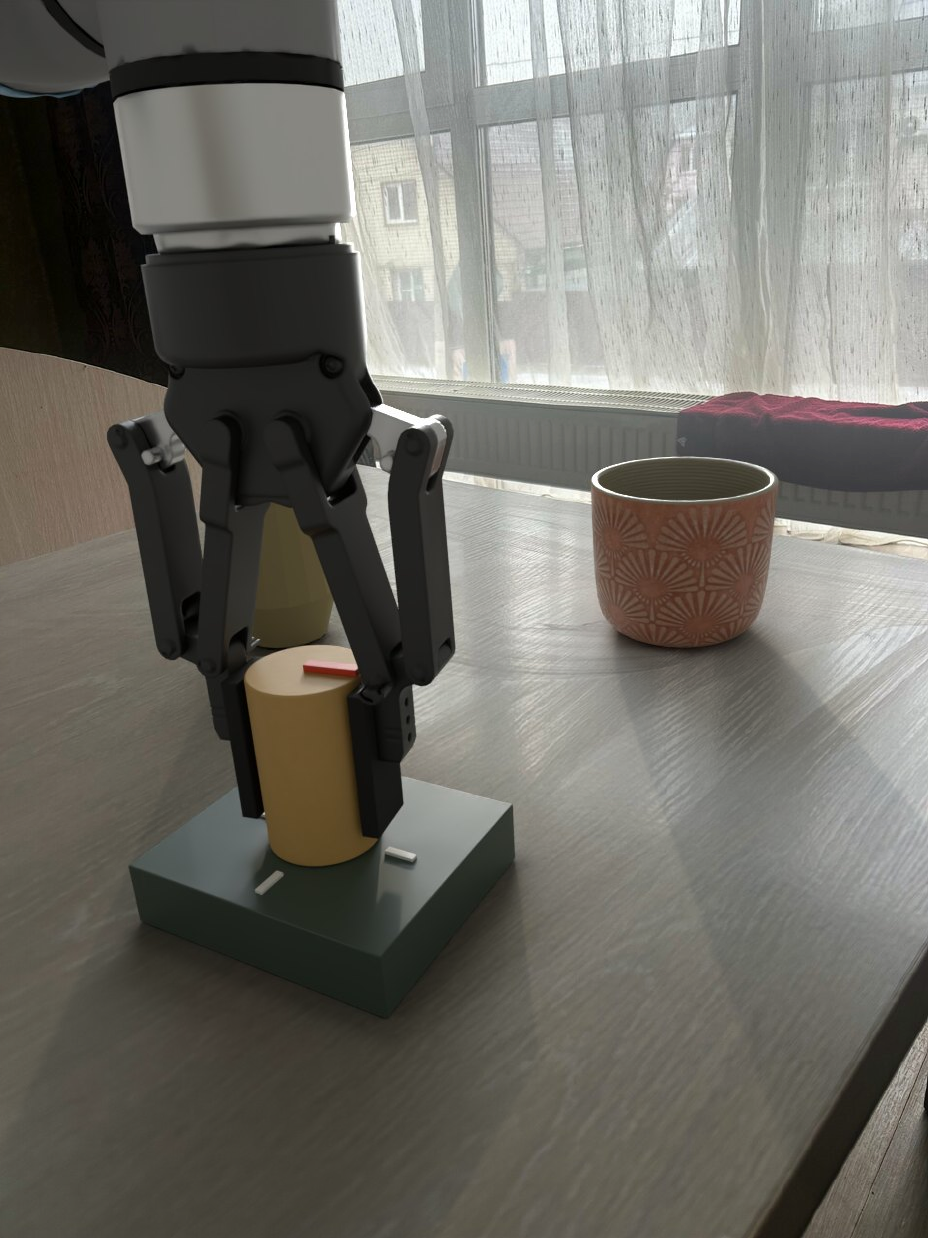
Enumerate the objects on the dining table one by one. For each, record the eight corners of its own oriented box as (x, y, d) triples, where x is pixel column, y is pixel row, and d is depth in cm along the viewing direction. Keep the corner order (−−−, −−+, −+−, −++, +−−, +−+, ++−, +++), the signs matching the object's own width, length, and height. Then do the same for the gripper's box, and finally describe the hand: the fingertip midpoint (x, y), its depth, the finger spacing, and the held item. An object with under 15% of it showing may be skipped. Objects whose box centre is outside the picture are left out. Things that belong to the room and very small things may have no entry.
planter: (558, 617, 72) (555, 474, 68) (689, 584, 77) (694, 448, 73) (663, 678, 62) (667, 513, 58) (806, 634, 67) (820, 480, 63)
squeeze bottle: (351, 646, 69) (324, 392, 63) (237, 665, 67) (196, 405, 61) (333, 608, 77) (307, 376, 70) (230, 624, 75) (192, 387, 68)
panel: (140, 921, 43) (126, 862, 41) (295, 796, 51) (288, 744, 50) (387, 1020, 36) (379, 953, 35) (515, 858, 45) (513, 801, 44)
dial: (247, 856, 41) (218, 682, 38) (303, 794, 46) (281, 633, 43) (352, 876, 40) (331, 695, 37) (400, 810, 44) (385, 643, 41)
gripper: (530, 223, 34) (545, 792, 43) (105, 247, 40) (195, 744, 48) (459, 228, 27) (494, 899, 36) (-37, 256, 33) (97, 828, 42)
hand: (323, 809), depth 42 cm, fingers closed on dial, 5 cm apart
